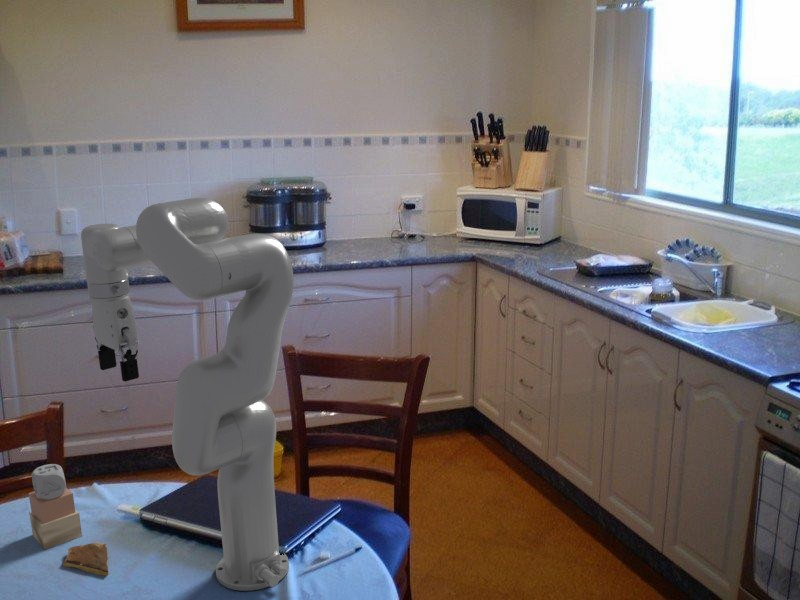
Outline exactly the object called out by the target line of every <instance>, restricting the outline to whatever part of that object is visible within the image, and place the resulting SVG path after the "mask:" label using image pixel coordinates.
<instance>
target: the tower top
mask: <svg viewBox="0 0 800 600" xmlns="http://www.w3.org/2000/svg"><path fill="white" fill-rule="evenodd" d="M28 497H29V506H30V511H31V512H32V513H33V514H34V515H35V516H36V517H37V518H38V519H39V520H40V521H41V522H42V523H43V524H45V523H47V522H50V521H53V520H56V519H58V518H61V517H64V516H67V515H70V514H72V513H75V509H76V505H75V499H74V494H73V492H72V491H71V490H70V489H68V488H67V487H66V491H65V492H64V493H63V494H62V495H61V496H60V497H57V498H55V499H51V500H40V499H38V498H37V497H36V495H35V491H34V490H33V491H32V492H29V493H28Z"/></svg>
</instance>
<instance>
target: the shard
mask: <svg viewBox="0 0 800 600" xmlns="http://www.w3.org/2000/svg"><path fill="white" fill-rule="evenodd" d="M108 554H109V553H108V547H107V543H106V542H105V543H104V542H94V543H93V542H92V543H87V544H80V545H75V546H72V547H69V548H68V550H67V556H66V558H65V560H64V561H62V565H63V567H64V568H75V569H77V570H78V569H79V570H82V571H84V572H87V573H91V574H95V575H98V576H99V575H100V576H105V577H107V576H109V566H108V560H109V558H108V557H109V556H108Z"/></svg>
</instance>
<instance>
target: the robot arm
mask: <svg viewBox="0 0 800 600" xmlns="http://www.w3.org/2000/svg"><path fill="white" fill-rule="evenodd" d="M228 229H229V216H228V213H227V212H226V210H225V208H223V206H222V205H221V204H220V203H218V202H217V201H215V200H212V199H210V198H206V197H191V198H185V199H179V200H173V201H172V200H171V201H165V202H160V203H155V204H151V205H149V206H147V207H145V208H144V209H143V210H142V211H141V212H140V214H139V215H138V217H137V220H136V224H135V225H130V226H123V227H121V226H120V225H118V224H115V223H97V224H96V223H95V224H91V225H88V226H85V227H84V228H82V230H81V231H80V241H81V247H82V257H83V262H84V263H83V264H84V270H85V276H86V277H85V278H86V285H87V292H88V293H87V294H88V299H89V300H90V301H91V314H92V329H93V332H94V340H95V341H96V349H97V354H98V362H99V368H100V370H101V371H104V370H109V369H112V368H116V367H117V359H116V357H117V356H116V351H117V353H118V355H119V357H120V359H121V361H119V364H120V374H121V380H122V381H123V382H129V381H133V380H136V379H139V378H140V375H139V366H138V357H139V356H138V353H139V350H138V346H139V342H140V341H139V333H138V328H137V327H138V325H137V322H136V321H137V320H136V316H135V311H134V308H133V303H132V300H131V297H130V295H131V290H130V282H129V273H128V269H132V268H136V267H141V266H146V265H151V264H153V265H154V266H155V267H156V268H157V269H158V270H159V271H160V272H161V273H162V274H163V275H164V276H165V277H166V278H167V279H168V280H169V282H171V283H172V285H173V286H175V288H176V289H178V291H179V292H180V293H182V294H183V295H184V296H185V297H187V298H189V299H192V300H195V301H207V300H213V299H216V298H217V299H218V298H221V297H225V296H228V295H233V294H236V293H240V292H241V293H242V292H244V291H245V292H244V295H243V297H242V298H241V300H240V301H239V303H238V304H237V305H236V307H235V308H234V310H233V312H232V314H231V315H230V318H229V322H228V324H227V330H226V339H225V344H224V346H223V348H222V349H221V350H220V351H218V352H216V353H213V354H210V355H207V356H204V357H201V358H198V359H196V360H194V361H191V362H190V363H188V364H187V365H186V366H185V367H184V368H183V370H181V372H180V374H179V377H178V378H177V382H176V387H175V397H174V398H175V399H174V408H173V409H174V410H173V420H172V431H171V446H172V448H171V449H172V454H173V457H174V460H175V461H176V463H177V465H178V467H179V468H180V469H181V470H182V472H185V473H186V474H187V475H190V476H205V475H207V474H209V473H210V474H211V473H212V472H215V471H217V470H218V474H217V482H216V483H217V486H216V487H217V498H218V499H217V501H218V508H219V509H218V510H219V521H220V529H221V530H220V531H221V544H222V555H223V557H222V558H221V559H220V560H219V562H218V563H217V564H216V567H215V576H216V579H217V581H218V582H219V584H221V585H222V586H223V587H225V588H228V589H229V590H234V591H241V592H245V591H246V592H247V591H257V590H263V589H265V588H268V587H271V588H274V587H276V586H277V585H278V584H279V582H280V581H281V580H283V579H284V578H285V577H286V575H287V573H288V572H289V570H290V561H289V557H288V556H287V554H286V553H284V555H283V554H282V555H280V553H279V550H280V547H279V534H278V522H277V521H278V519H277V508H276V507H277V505H276V495H275V494H276V492H275V490H276V489H275V475H274V474H275V473H274V454H275V453H274V452H275V447H276V446H275V445H276V440H277V439H276V438H277V422H276V421H277V420H276V416H275V414H274V411H273V410H272V408H271V407H270V405H269V404H268V403H267V402H266V401H264V400H265V399H266V398H267V397H268V396H270V394H271V393H272V392H273V391H272V390H273V388H274V385H275V381H276V375H277V368H278V364H279V363H278V362H279V356H280V350H281V343H282V335H283V330H284V326H285V325H284V324H285V322H286V318H287V315H288V312H289V309H290V305H291V301H292V298H293V292H294V283H295V282H294V281H295V280H294V269H293V265H292V262H291V258H290V255H289V253H288V251H287V249H286V248H285V246H284V245H283V244H282V243H281V242H280V240H278V239H277V238H275V237H273V236H271V235H269V234H263V233H250V234H242V235H235V236H230V237H226V234H227V232H228ZM225 237H226V238H225Z"/></svg>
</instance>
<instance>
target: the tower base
mask: <svg viewBox="0 0 800 600" xmlns="http://www.w3.org/2000/svg"><path fill="white" fill-rule="evenodd" d="M28 514H29V520H30V526H31V532H32V537H34V539H35V540H36V541H37V542H38V543H39V544H40V546H41V547H42V548H43V550H47V549H51V548H53V547H56V546H58V545H59V546H60V545H61V544H64V543H66V542H67V543H68V542H70V541H72V540H76V539H78V538H81V537H83V532H82V526H81V525H82V524H81V519H80V517H81V516H80V512H79V511H78V510H77V509H76V508H75V513H72V514H70V515H67V516H64V517H61V518H58V519H56V520H53V521H50V522H47V523H45V524H43V523H42V522H41V521H40V520H39V519H38V518H37V517H36V516H35V515H34V514H33V513H32V512H31V510H30V511H29V512H28Z"/></svg>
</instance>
